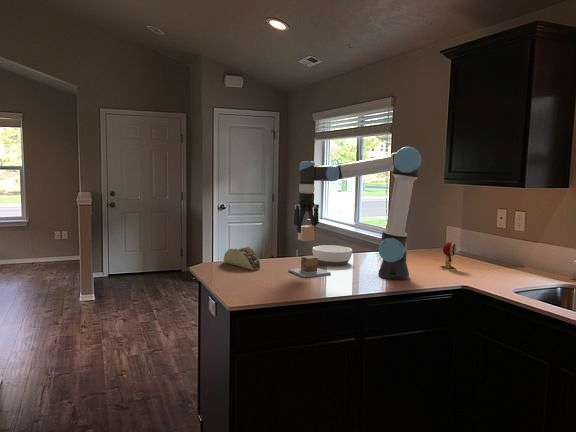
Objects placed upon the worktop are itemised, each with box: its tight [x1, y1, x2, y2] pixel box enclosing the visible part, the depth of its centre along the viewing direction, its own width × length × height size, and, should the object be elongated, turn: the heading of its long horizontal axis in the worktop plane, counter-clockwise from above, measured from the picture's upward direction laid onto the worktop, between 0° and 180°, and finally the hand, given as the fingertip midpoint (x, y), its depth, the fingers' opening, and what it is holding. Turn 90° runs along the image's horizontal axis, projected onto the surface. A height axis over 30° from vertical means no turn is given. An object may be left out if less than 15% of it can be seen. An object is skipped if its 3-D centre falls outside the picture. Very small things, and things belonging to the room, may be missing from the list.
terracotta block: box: [297, 224, 316, 242], centre depth 250 cm, size 6×6×7 cm
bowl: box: [312, 244, 353, 267], centre depth 280 cm, size 22×22×8 cm
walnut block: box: [300, 255, 318, 272], centre depth 252 cm, size 6×6×7 cm
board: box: [287, 267, 332, 279], centre depth 253 cm, size 15×16×1 cm
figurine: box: [438, 241, 457, 272], centre depth 274 cm, size 9×10×15 cm
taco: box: [223, 246, 261, 272], centre depth 264 cm, size 10×27×10 cm, turn 44°
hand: (306, 238), depth 250 cm, fingers closed on terracotta block, 6 cm apart
